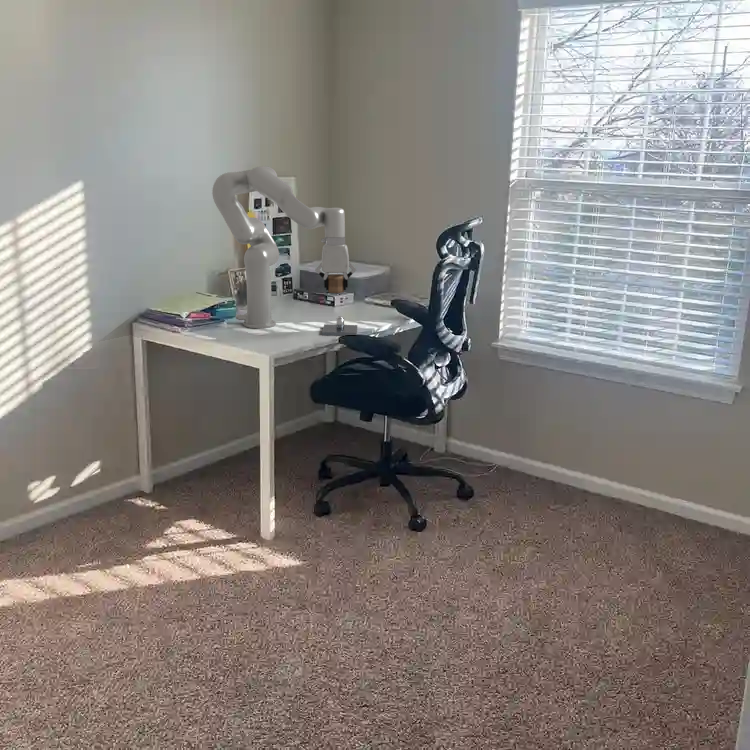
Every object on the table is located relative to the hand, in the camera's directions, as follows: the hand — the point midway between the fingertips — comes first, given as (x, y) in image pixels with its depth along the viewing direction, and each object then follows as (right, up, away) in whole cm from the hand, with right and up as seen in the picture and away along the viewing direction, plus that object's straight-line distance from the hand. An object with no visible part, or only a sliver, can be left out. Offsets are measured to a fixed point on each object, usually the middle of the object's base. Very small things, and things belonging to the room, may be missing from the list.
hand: (336, 289), depth 312 cm
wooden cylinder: (0, -1, 0) cm, 1 cm away
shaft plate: (+1, -16, +5) cm, 17 cm away
